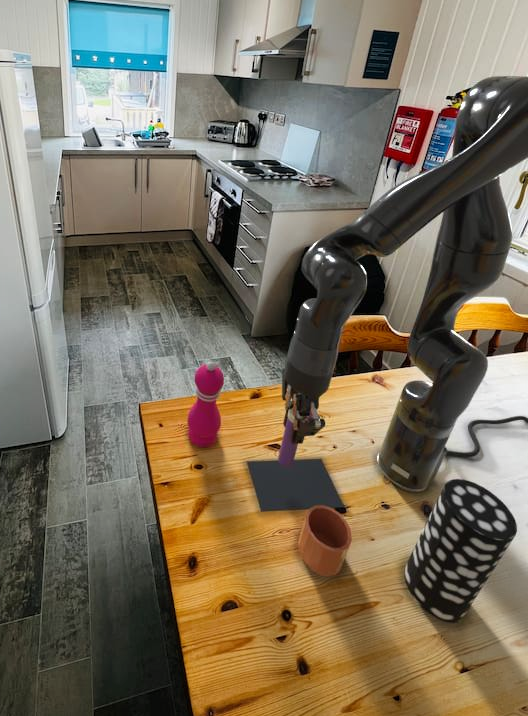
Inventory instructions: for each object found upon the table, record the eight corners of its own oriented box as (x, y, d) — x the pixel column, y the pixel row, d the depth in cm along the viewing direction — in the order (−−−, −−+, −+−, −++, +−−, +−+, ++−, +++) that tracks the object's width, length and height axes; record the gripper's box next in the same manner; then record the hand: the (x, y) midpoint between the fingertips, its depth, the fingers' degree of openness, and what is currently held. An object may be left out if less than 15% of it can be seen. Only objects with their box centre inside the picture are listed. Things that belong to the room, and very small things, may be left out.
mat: (320, 460, 82) (321, 458, 82) (344, 508, 73) (344, 507, 73) (246, 463, 81) (246, 461, 81) (260, 513, 72) (261, 511, 72)
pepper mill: (217, 452, 83) (228, 378, 75) (183, 445, 84) (190, 371, 76) (220, 425, 89) (230, 354, 81) (188, 419, 90) (195, 348, 83)
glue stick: (290, 453, 77) (301, 407, 72) (295, 467, 74) (308, 420, 70) (275, 454, 77) (286, 407, 72) (280, 468, 74) (292, 421, 69)
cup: (329, 530, 70) (338, 504, 67) (349, 576, 63) (360, 550, 60) (291, 532, 69) (298, 506, 66) (307, 579, 63) (316, 552, 60)
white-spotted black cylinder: (441, 635, 57) (493, 551, 49) (391, 573, 64) (430, 490, 56) (476, 608, 60) (530, 525, 52) (425, 551, 67) (466, 471, 59)
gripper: (353, 389, 60) (328, 468, 67) (314, 333, 73) (297, 404, 80) (306, 390, 59) (286, 469, 66) (275, 333, 72) (261, 404, 79)
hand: (292, 433), depth 73 cm, fingers closed on glue stick, 3 cm apart
